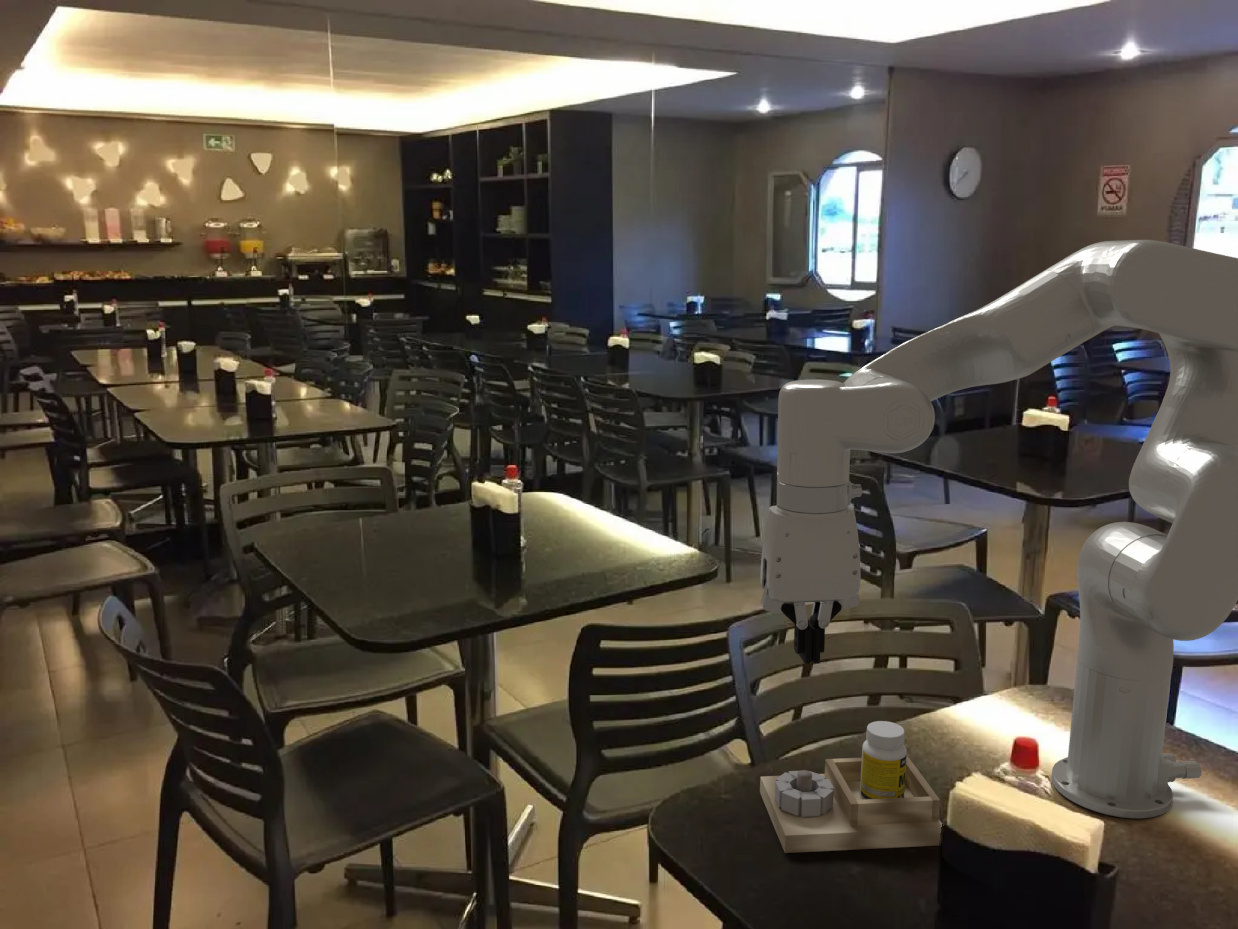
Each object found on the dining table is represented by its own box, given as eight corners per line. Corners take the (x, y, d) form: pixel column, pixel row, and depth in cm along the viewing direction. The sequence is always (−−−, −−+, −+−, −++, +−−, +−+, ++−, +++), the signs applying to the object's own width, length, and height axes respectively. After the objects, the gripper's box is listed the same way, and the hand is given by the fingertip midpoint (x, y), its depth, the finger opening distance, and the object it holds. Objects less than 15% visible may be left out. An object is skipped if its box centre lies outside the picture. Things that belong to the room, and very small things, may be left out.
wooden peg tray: (903, 786, 116) (905, 742, 115) (943, 845, 104) (947, 797, 103) (759, 792, 115) (761, 748, 114) (784, 853, 103) (786, 805, 102)
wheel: (822, 786, 112) (823, 769, 111) (838, 815, 106) (839, 798, 105) (770, 788, 111) (771, 772, 111) (783, 817, 105) (783, 800, 105)
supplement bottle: (905, 813, 107) (910, 741, 105) (860, 808, 107) (864, 737, 106) (902, 790, 111) (906, 720, 109) (858, 786, 112) (862, 717, 110)
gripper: (869, 486, 110) (863, 642, 113) (736, 491, 108) (735, 649, 112) (893, 502, 102) (887, 669, 106) (751, 508, 101) (749, 676, 105)
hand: (808, 658), depth 109 cm, fingers closed
